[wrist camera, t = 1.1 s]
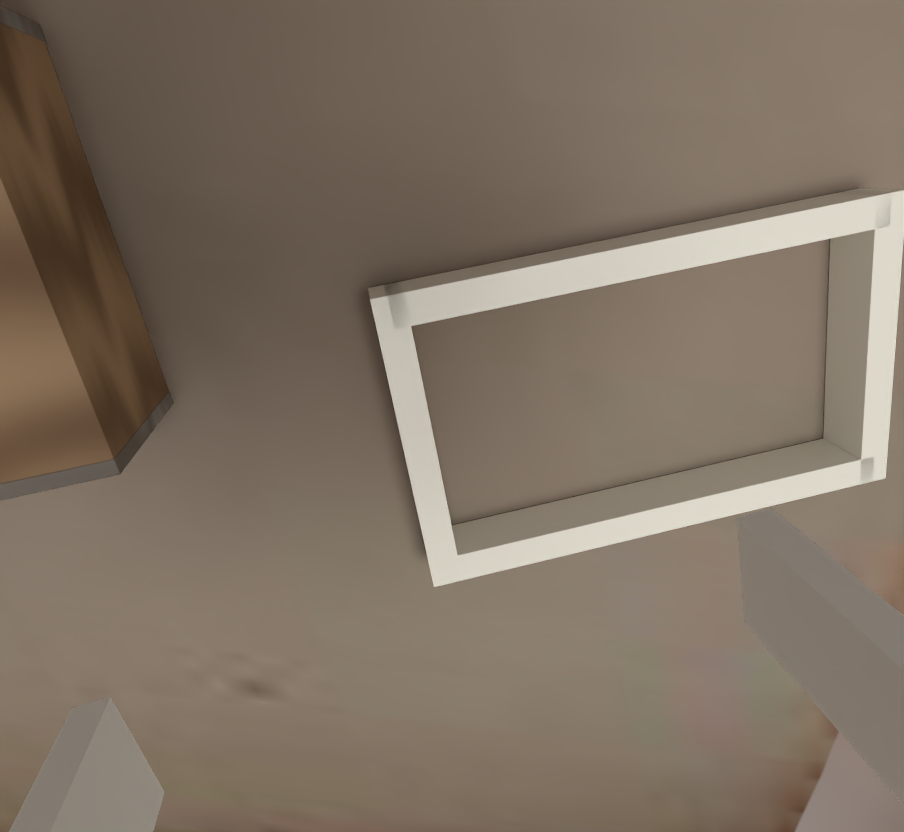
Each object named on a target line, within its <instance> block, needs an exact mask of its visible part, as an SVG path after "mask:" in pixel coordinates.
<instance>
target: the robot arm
mask: <svg viewBox="0 0 904 832" xmlns="http://www.w3.org/2000/svg"><path fill="white" fill-rule="evenodd" d="M737 527H738V541H739V555H740V569H741V584H742V598H743V612H744V622H745V623H746V624H747V625H748V627H749V628H750V629H751V630H752V631H753V632H754V633H755V635H756V636H757V637H758V638H759V639H760V640H761V642H762V643H763V644H764V645H765V646H766V647H767V649H768V650H769V651H770V652H771V653H772V654H773V655H774V657H775V658H776V659H777V660H778V661H779V662H780V664H781V665H782V666H783V667H784V668H785V669H786V670H787V672H788V673H789V674H790V675H791V676H792V677H793V679H794V680H795V681H796V682H797V683H798V684H799V686H800V687H801V688H802V689H803V690H804V691H805V692H806V694H807V695H808V696H809V697H810V698H811V699H812V701H813V702H814V703H815V704H816V705H817V706H818V708H819V709H820V710H821V711H822V712H823V713H824V714H825V716H826V717H827V718H828V719H829V720H830V721H831V723H832V724H833V725H834V726H835V727H836V728H837V730H838V731H839V732H840V733H841V734H842V735H843V736H844V738H845V739H846V740H847V741H848V742H849V743H850V744H851V746H852V747H853V748H854V749H855V750H856V751H857V753H858V754H859V755H860V756H861V757H862V758H863V760H864V761H865V762H866V763H867V764H868V765H869V767H870V768H871V769H872V770H873V771H874V772H875V773H876V775H877V776H878V777H879V778H880V779H881V780H882V782H883V783H884V784H885V785H886V786H887V787H888V788H889V790H890V791H891V792H892V793H893V794H894V796H895V797H896V798H897V799H898V800H899V801H900V802H901V804H902V805H903V806H904V616H903V615H902V614H901V613H900V612H899V611H897V610H896V609H895V608H894V607H892V606H891V605H890V604H889V603H888V602H886V601H885V600H884V599H883V598H881V597H880V596H879V595H878V594H876V593H875V592H874V591H873V590H872V589H870V588H869V587H868V586H867V585H865V584H864V583H863V582H862V581H861V580H859V579H858V578H857V577H856V576H854V575H853V574H852V573H851V572H849V571H848V570H847V569H846V568H845V567H843V566H842V565H841V564H840V563H838V562H837V561H836V560H835V559H834V558H832V557H831V556H830V555H829V554H827V553H826V552H825V551H824V550H822V549H821V548H820V547H819V546H818V545H816V544H815V543H814V542H813V541H811V540H810V539H809V538H808V537H807V536H805V535H804V534H803V533H802V532H800V531H799V530H798V529H797V528H795V527H794V526H793V525H792V524H791V523H789V522H788V521H787V520H786V519H784V518H783V517H782V516H781V515H780V514H778V513H777V512H776V511H775V510H773V509H772V508H770V509H766V510H763V511H759V512H756V513H752V514H749V515H745V516H742V517H738V518H737ZM164 793H165V792H164V790H163V788H162V787H161V785H160V783H159V781H158V780H157V778H156V776H155V774H154V773H153V771H152V769H151V767H150V766H149V764H148V762H147V760H146V759H145V757H144V755H143V753H142V752H141V750H140V748H139V746H138V745H137V743H136V741H135V739H134V738H133V736H132V734H131V732H130V731H129V729H128V727H127V725H126V724H125V722H124V720H123V718H122V717H121V715H120V713H119V711H118V709H117V708H116V706H115V704H114V702H113V701H112V699H111V697H108V698H105V699H101V700H98V701H94V702H91V703H87V704H84V705H80V706H77V707H73V708H71V710H70V712H69V714H68V716H67V718H66V720H65V722H64V724H63V726H62V728H61V730H60V732H59V734H58V736H57V738H56V740H55V742H54V744H53V746H52V748H51V750H50V752H49V754H48V756H47V758H46V760H45V762H44V764H43V766H42V768H41V770H40V772H39V774H38V776H37V778H36V779H35V781H34V783H33V785H32V787H31V789H30V791H29V793H28V795H27V797H26V799H25V801H24V803H23V805H22V807H21V809H20V811H19V813H18V815H17V817H16V819H15V821H14V823H13V825H12V827H11V829H10V831H9V832H153V830H154V827H155V823H156V820H157V817H158V813H159V810H160V806H161V803H162V799H163V796H164Z"/></svg>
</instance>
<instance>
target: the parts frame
mask: <svg viewBox="0 0 904 832" xmlns="http://www.w3.org/2000/svg"><path fill="white" fill-rule="evenodd" d="M903 238H904V189H871V188H858V189H853V190H848V191H843V192H838V193H834V194H829V195H824V196H819V197H814V198H809V199H804V200H799V201H794V202H789V203H784V204H779V205H775V206H770V207H765V208H760V209H755V210H750V211H745V212H740V213H735V214H730V215H725V216H720V217H716V218H711V219H706V220H701V221H696V222H691V223H686V224H681V225H676V226H671V227H666V228H661V229H657V230H652V231H647V232H642V233H637V234H632V235H627V236H622V237H617V238H612V239H607V240H602V241H598V242H593V243H588V244H583V245H578V246H573V247H568V248H563V249H558V250H553V251H548V252H543V253H539V254H534V255H529V256H524V257H519V258H514V259H509V260H504V261H499V262H494V263H489V264H484V265H480V266H475V267H470V268H465V269H460V270H455V271H450V272H445V273H440V274H435V275H430V276H425V277H420V278H416V279H411V280H406V281H401V282H396V283H391V284H386V285H381V286H376V287H371V288H368V292H369V297H370V302H371V306H372V311H373V315H374V320H375V324H376V329H377V333H378V338H379V342H380V347H381V351H382V356H383V360H384V365H385V369H386V374H387V378H388V383H389V387H390V391H391V396H392V400H393V405H394V409H395V414H396V418H397V423H398V427H399V432H400V436H401V441H402V445H403V450H404V454H405V459H406V463H407V468H408V472H409V477H410V481H411V486H412V490H413V495H414V499H415V504H416V508H417V513H418V517H419V522H420V526H421V531H422V535H423V539H424V544H425V548H426V553H427V557H428V562H429V566H430V571H431V575H432V580H433V584H434V587H436V586H440V585H445V584H449V583H453V582H457V581H461V580H465V579H470V578H474V577H478V576H482V575H486V574H490V573H494V572H499V571H503V570H507V569H511V568H515V567H519V566H523V565H528V564H532V563H536V562H540V561H544V560H548V559H552V558H557V557H561V556H565V555H569V554H573V553H577V552H582V551H586V550H590V549H594V548H598V547H602V546H606V545H611V544H615V543H619V542H623V541H627V540H631V539H635V538H640V537H644V536H648V535H652V534H656V533H660V532H665V531H669V530H673V529H677V528H681V527H685V526H689V525H694V524H698V523H702V522H706V521H710V520H714V519H718V518H723V517H727V516H731V515H735V514H739V513H743V512H747V511H752V510H756V509H760V508H764V507H768V506H772V505H777V504H781V503H785V502H789V501H793V500H797V499H801V498H806V497H810V496H814V495H818V494H822V493H826V492H830V491H835V490H839V489H843V488H847V487H851V486H855V485H860V484H864V483H868V482H872V481H876V480H880V479H884V478H886V464H887V451H888V438H889V425H890V411H891V398H892V385H893V371H894V358H895V345H896V331H897V318H898V305H899V292H900V278H901V265H902V252H903ZM826 239H830V261H829V290H828V318H827V346H826V375H825V403H824V431H823V439H819V440H815V441H811V442H806V443H802V444H798V445H793V446H789V447H785V448H781V449H776V450H772V451H768V452H764V453H759V454H755V455H751V456H747V457H742V458H738V459H734V460H729V461H725V462H721V463H717V464H712V465H708V466H704V467H700V468H695V469H691V470H687V471H682V472H678V473H674V474H670V475H665V476H661V477H657V478H653V479H648V480H644V481H640V482H635V483H631V484H627V485H623V486H618V487H614V488H610V489H606V490H601V491H597V492H593V493H588V494H584V495H580V496H576V497H571V498H567V499H563V500H559V501H554V502H550V503H546V504H541V505H537V506H533V507H529V508H524V509H520V510H516V511H512V512H507V513H503V514H499V515H494V516H490V517H486V518H482V519H477V520H473V521H469V522H465V523H460V524H456V525H451V520H450V515H449V510H448V506H447V501H446V496H445V491H444V486H443V481H442V476H441V471H440V466H439V461H438V456H437V451H436V446H435V441H434V436H433V432H432V427H431V422H430V417H429V412H428V407H427V402H426V397H425V392H424V387H423V382H422V377H421V372H420V367H419V363H418V358H417V353H416V348H415V343H414V338H413V333H412V328H411V326H414V325H419V324H424V323H429V322H433V321H438V320H443V319H448V318H453V317H457V316H462V315H467V314H472V313H476V312H481V311H486V310H491V309H496V308H500V307H505V306H510V305H515V304H519V303H524V302H529V301H534V300H539V299H543V298H548V297H553V296H558V295H563V294H567V293H572V292H577V291H582V290H586V289H591V288H596V287H601V286H606V285H610V284H615V283H620V282H625V281H630V280H634V279H639V278H644V277H649V276H653V275H658V274H663V273H668V272H673V271H677V270H682V269H687V268H692V267H697V266H701V265H706V264H711V263H716V262H720V261H725V260H730V259H735V258H740V257H744V256H749V255H754V254H759V253H764V252H768V251H773V250H778V249H783V248H787V247H792V246H797V245H802V244H807V243H811V242H816V241H821V240H826Z"/></svg>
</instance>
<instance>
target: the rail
mask: <svg viewBox="0 0 904 832" xmlns="http://www.w3.org/2000/svg"><path fill="white" fill-rule="evenodd" d="M172 404H173V400H172V398H171V395H170V392H169V390H168V388H167V385H166V382H165V379H164V376H163V374H162V371H161V368H160V365H159V362H158V359H157V357H156V354H155V351H154V348H153V345H152V343H151V340H150V337H149V334H148V331H147V328H146V326H145V323H144V320H143V317H142V314H141V312H140V309H139V306H138V303H137V300H136V297H135V295H134V292H133V289H132V286H131V283H130V281H129V278H128V275H127V272H126V269H125V266H124V264H123V261H122V258H121V255H120V252H119V250H118V247H117V244H116V241H115V238H114V235H113V233H112V230H111V227H110V224H109V221H108V218H107V216H106V213H105V210H104V207H103V204H102V202H101V199H100V196H99V193H98V190H97V187H96V185H95V182H94V179H93V176H92V173H91V171H90V168H89V165H88V162H87V159H86V156H85V154H84V151H83V148H82V145H81V142H80V140H79V137H78V134H77V131H76V128H75V125H74V123H73V120H72V117H71V114H70V111H69V109H68V106H67V103H66V100H65V97H64V94H63V92H62V89H61V86H60V83H59V80H58V78H57V75H56V72H55V69H54V66H53V63H52V61H51V58H50V55H49V52H48V49H47V47H46V44H45V39H44V37H43V34H42V31H41V28H40V25H39V24H37V23H35V22H33V21H31V20H29V19H27V18H25V17H23V16H21V15H19V14H17V13H15V12H13V11H11V10H9V9H6V8H4V7H2V6H0V500H5V499H9V498H14V497H18V496H23V495H27V494H32V493H37V492H41V491H46V490H50V489H55V488H59V487H64V486H69V485H73V484H78V483H82V482H87V481H91V480H96V479H100V478H105V477H110V476H114V475H119V474H121V472H122V471H123V470H124V468H125V467H126V466H127V464H128V463H129V462H130V460H131V459H132V458H133V456H134V455H135V454H136V452H137V451H138V450H139V448H140V447H141V446H142V444H143V443H144V442H145V440H146V439H147V438H148V436H149V435H150V434H151V432H152V431H153V430H154V428H155V427H156V426H157V424H158V423H159V422H160V420H161V419H162V418H163V416H164V415H165V414H166V412H167V411H168V410H169V408H170V407H171V406H172Z"/></svg>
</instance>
